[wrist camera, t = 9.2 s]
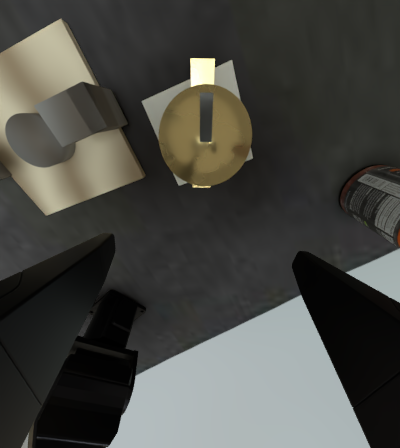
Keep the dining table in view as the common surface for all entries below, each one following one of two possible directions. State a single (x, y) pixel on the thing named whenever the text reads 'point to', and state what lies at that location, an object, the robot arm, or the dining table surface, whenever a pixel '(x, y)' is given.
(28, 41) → the cream slotted block
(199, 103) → the brass bell
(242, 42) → the dining table surface
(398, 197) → the supplement bottle
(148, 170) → the dining table surface
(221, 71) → the grey mat
